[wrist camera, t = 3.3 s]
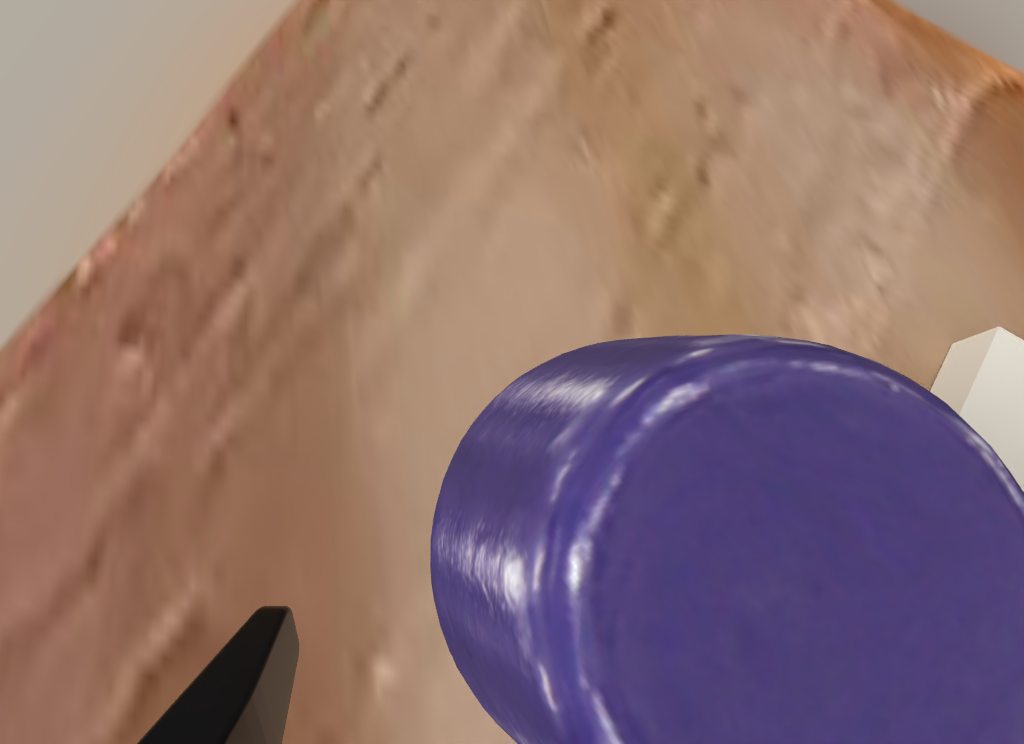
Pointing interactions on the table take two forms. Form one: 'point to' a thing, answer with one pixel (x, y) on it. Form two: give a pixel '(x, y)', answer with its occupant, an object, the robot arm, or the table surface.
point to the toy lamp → (731, 553)
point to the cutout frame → (989, 391)
